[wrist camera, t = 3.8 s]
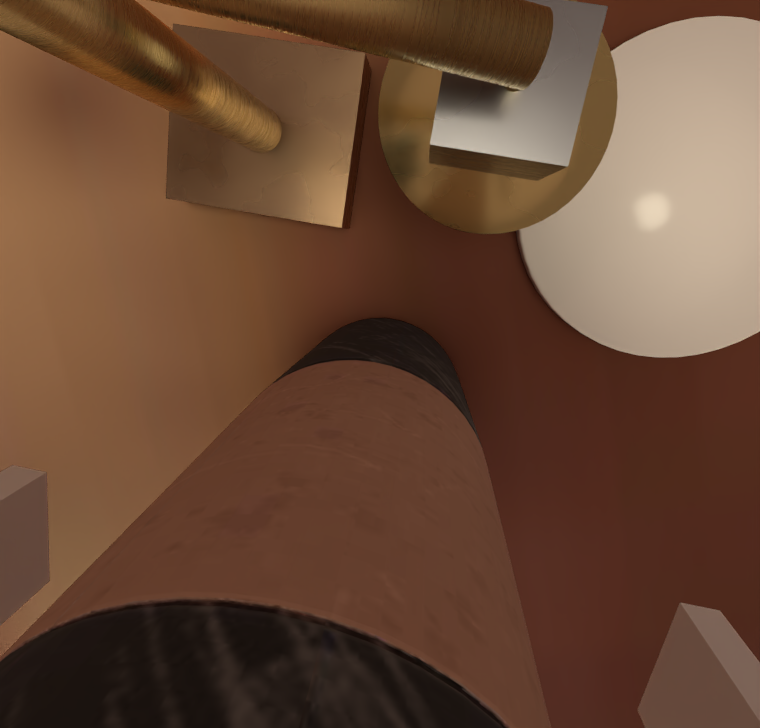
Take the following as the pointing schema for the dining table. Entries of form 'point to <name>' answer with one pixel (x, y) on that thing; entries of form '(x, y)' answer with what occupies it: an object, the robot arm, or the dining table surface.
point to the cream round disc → (666, 201)
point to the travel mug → (303, 570)
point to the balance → (358, 99)
